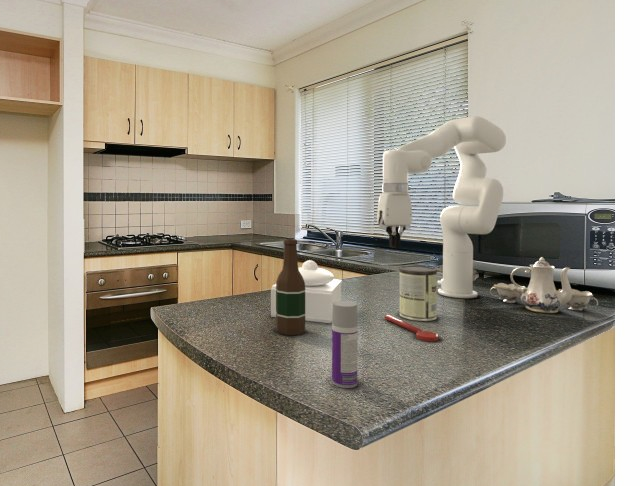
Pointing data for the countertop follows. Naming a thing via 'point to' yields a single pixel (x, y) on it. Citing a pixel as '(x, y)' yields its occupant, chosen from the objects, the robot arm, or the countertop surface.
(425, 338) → the red spoon
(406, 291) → the coffee can
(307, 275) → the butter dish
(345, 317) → the container
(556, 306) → the chinaware
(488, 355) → the countertop surface
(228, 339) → the countertop surface
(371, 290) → the countertop surface
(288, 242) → the beer bottle
